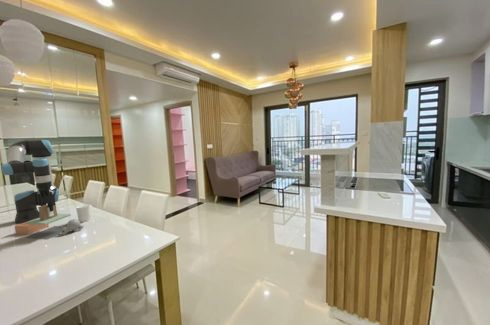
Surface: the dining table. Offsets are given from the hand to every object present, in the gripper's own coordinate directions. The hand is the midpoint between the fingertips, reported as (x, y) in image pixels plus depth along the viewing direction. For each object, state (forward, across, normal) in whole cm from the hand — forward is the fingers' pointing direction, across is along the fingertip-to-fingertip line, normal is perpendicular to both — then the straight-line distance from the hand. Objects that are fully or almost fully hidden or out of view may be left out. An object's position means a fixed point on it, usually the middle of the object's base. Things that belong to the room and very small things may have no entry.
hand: (48, 215), depth 144 cm
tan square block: (+12, -19, +2) cm, 22 cm away
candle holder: (+12, +4, +22) cm, 25 cm away
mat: (+12, 0, 0) cm, 12 cm away
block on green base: (+3, 0, 0) cm, 3 cm away
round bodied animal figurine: (+12, +15, +2) cm, 19 cm away
